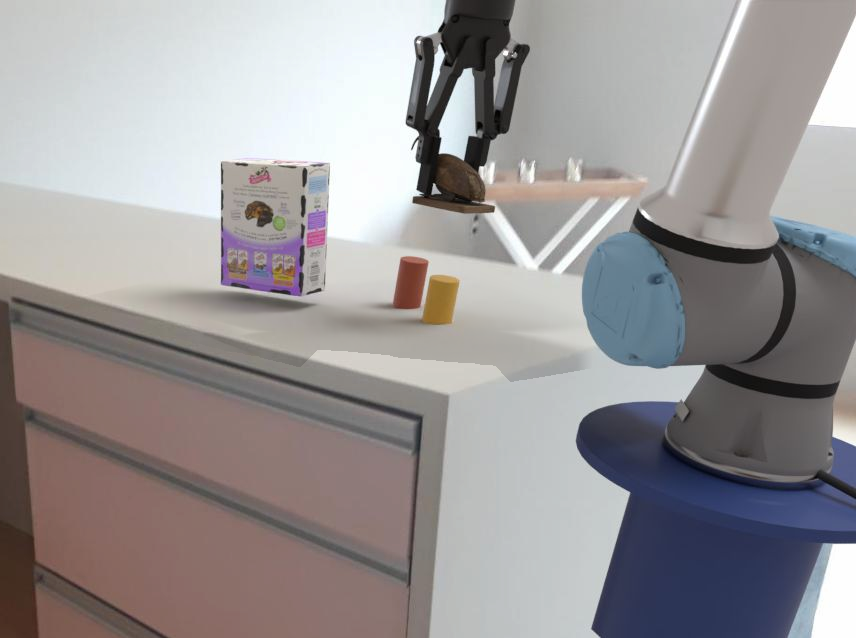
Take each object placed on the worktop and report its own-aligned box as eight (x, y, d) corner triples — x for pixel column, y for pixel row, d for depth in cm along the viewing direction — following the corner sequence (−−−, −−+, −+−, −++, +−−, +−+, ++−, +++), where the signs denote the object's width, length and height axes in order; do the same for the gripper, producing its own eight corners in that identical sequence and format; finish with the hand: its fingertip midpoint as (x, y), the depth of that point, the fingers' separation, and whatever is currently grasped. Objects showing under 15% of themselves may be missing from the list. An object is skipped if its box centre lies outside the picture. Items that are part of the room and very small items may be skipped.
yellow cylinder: (453, 338, 143) (464, 282, 139) (427, 338, 142) (437, 282, 139) (441, 329, 146) (451, 274, 143) (415, 329, 145) (425, 274, 142)
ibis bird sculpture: (390, 199, 144) (398, 125, 140) (419, 198, 146) (428, 126, 142) (464, 214, 132) (476, 134, 129) (494, 213, 134) (506, 134, 131)
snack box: (327, 291, 152) (332, 161, 146) (300, 298, 148) (305, 165, 142) (245, 278, 161) (247, 155, 154) (218, 285, 157) (219, 159, 150)
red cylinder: (423, 316, 150) (433, 263, 147) (398, 316, 150) (407, 263, 146) (412, 308, 153) (421, 256, 150) (387, 308, 153) (396, 255, 150)
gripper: (539, -17, 133) (497, 189, 144) (396, -29, 129) (363, 184, 140) (573, -14, 127) (527, 202, 137) (424, -26, 123) (388, 197, 133)
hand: (444, 192), depth 138 cm, fingers closed on ibis bird sculpture, 5 cm apart
